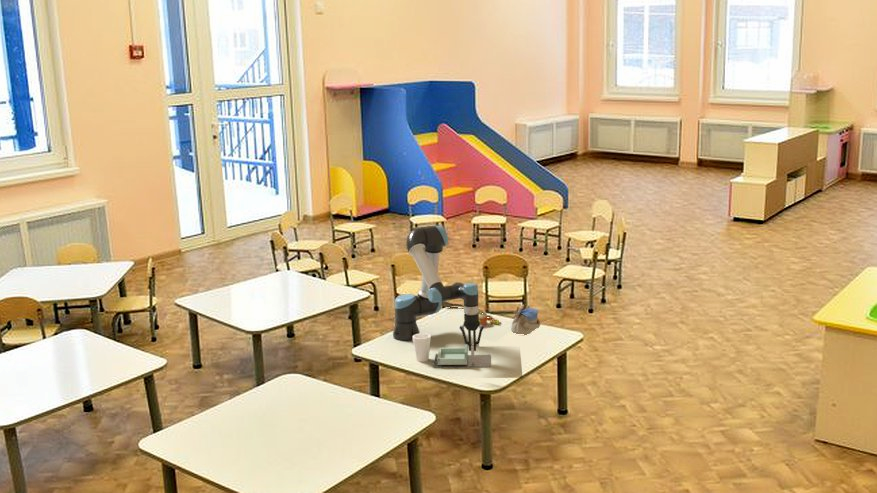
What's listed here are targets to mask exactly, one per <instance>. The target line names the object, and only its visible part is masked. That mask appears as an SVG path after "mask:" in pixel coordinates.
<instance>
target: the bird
mask: <svg viewBox="0 0 877 493" xmlns="http://www.w3.org/2000/svg"><path fill="white" fill-rule="evenodd" d="M441 307H444V308H445V307H446V308H452V307H462V308H464V304H460V303H452V302H448V301H442V305H441Z"/></svg>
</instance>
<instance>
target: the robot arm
mask: <svg viewBox="0 0 877 493" xmlns="http://www.w3.org/2000/svg"><path fill="white" fill-rule="evenodd" d="M405 242H406V250H407V252H408V255H409V256H411V257H412V258H413V260H414V262H415V263H416V266H417V268H418V270H419V271H420V274H421V284H420V289H418V291H417V295H415V294H412V293H408V294H407V293H405V294H402V295H399V296H397V297H396V298H395V299H394V312H395V313H394V314H395V316H394V317H395V323H394V324H395V325H394V327H393V328H394V329H393V331H392V337H393V338H394V339H395V340H399V341H410V340H413V335H415V334H420V333H421V332H420V329H419V327H418V323H417V318H418V317H421V316H427V315H429V316H430V315H433V314H437V313H439V312H440V310H441V308H442V306H441V305H442V301H445V302H448V301H451V300H460V299H461V300H463V305H464V307H463V313H464V314H463V320H464V321H463V324H462V325H460V326H459V331H461V335H462V337H463V341H464V345H465V344H468V352H470V353H471V354H470V355H471V358H474V355H475V352H476V350H477V345H479V344H480V341H481V338H482V332H483V330H484V328H485V326H484V325H481V324H480V322H479V314H478V312H479V308H480V307H479V286H478V284H477V283H475V282H466V283H462V282H454V283H453V284H450V285H445V286H444V284H443V281H442V279H440V276H439V274H438V272H439V266H440V265H439V263H440V254H441V253H443V251H444V247H446V246H447V245H448V243H449V237H448V233H447V230H446V229H445V228H444V227H443V226H442V225H431V226H425V227H417V228H414V229H412V230H411V231H410V232H409V233H408V235H407V237H406V241H405ZM465 329H466V330H467V333H468V335H467V334H466V332H465ZM477 329H479V332H478V336H477V334H476V332H477ZM471 333H472V334H473V335H472V334H471ZM467 336H468V337H467ZM472 336H473V343H472ZM476 338H477V339H476Z"/></svg>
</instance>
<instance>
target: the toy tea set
mask: <svg viewBox="0 0 877 493" xmlns="http://www.w3.org/2000/svg"><path fill="white" fill-rule="evenodd" d="M482 313H483V314H482ZM478 314H479V322H480V324H481V325H485V326H487V323H488V321H489V324H490V323H491V324H490V325H493V324H496V325H497V324H498V325H499V324H500V322H499V319H495V318H494V319H493V315H489V314H486V311H485V310H481V309H479V312H478ZM485 314H486V315H485ZM487 317H489V318H487ZM487 320H488V321H487Z"/></svg>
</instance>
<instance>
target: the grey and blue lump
mask: <svg viewBox="0 0 877 493" xmlns="http://www.w3.org/2000/svg"><path fill="white" fill-rule="evenodd" d="M538 313H539V310H538V309H537V308H532V307H530V305H526V309H525V304H522V305H521V307H520V306H516V309H515V310H514V311H513V314H515V315H514V316H513V317H512V318H511V319H513V320H512V323H511V330H510V332H511V331H512V332H513V333H516V334H524V335H523V336H525V335H527V334H529V335H530V334H531V333H533V332H534V331H536V330H537V329H539V328H540V326H541V321H540V320H539V318H538ZM535 329H536V330H535ZM532 331H533V332H532ZM516 334H515V335H516ZM527 336H528V335H527Z"/></svg>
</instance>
